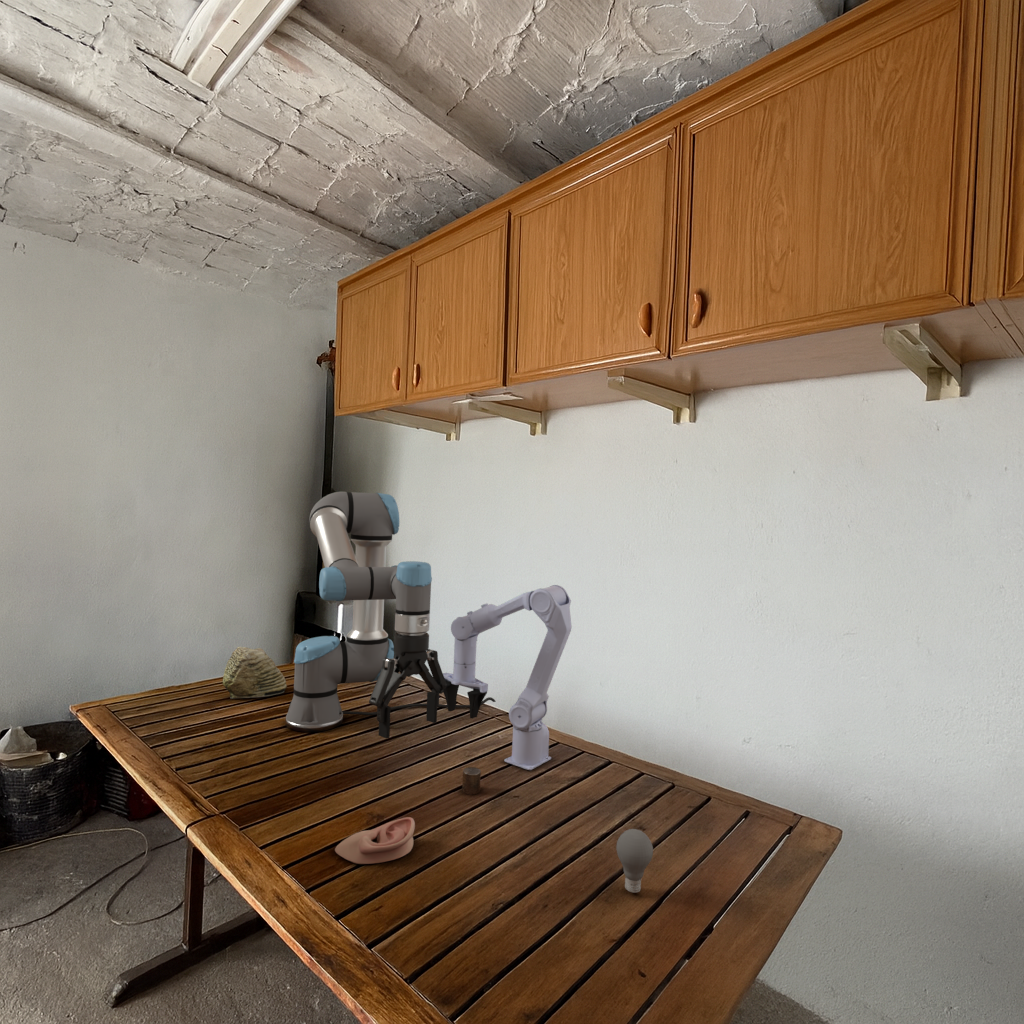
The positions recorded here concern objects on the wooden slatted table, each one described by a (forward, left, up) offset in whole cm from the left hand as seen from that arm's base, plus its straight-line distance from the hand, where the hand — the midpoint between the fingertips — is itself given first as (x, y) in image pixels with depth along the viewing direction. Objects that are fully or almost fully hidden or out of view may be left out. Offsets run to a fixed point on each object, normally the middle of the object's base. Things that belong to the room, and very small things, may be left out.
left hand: (408, 729), depth 139 cm
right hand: (-26, -8, -5) cm, 28 cm away
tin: (-9, +11, -13) cm, 19 cm away
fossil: (-10, -81, -13) cm, 83 cm away
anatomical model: (+20, +14, -13) cm, 28 cm away
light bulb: (-1, +55, -13) cm, 57 cm away
